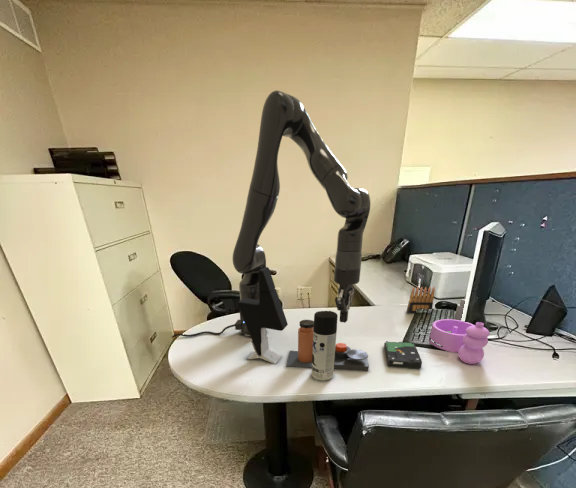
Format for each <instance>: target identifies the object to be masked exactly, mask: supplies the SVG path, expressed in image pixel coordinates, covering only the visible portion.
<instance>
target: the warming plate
mask: <svg viewBox="0 0 576 488" xmlns="http://www.w3.org/2000/svg"><path fill="white" fill-rule="evenodd" d="M346 355H347V357H348V358H350V359H353V360H364V359H366V358H367V359H368V357H369V354H368V352H367V351H365V350H361V349H351V350H349V351H348V352H347V353H346Z"/></svg>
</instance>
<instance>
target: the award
mask: <svg viewBox="0 0 576 488" xmlns="http://www.w3.org/2000/svg"><path fill="white" fill-rule="evenodd" d="M259 291H260V292H259V300H256V299H248V298H243V299H242V300H240V299H239V301H238V302H237V303H236V304H237V307H238V310H239V313H240V312H241V315H242V317H243V319H244V322H245V324H246V327H247V329H248V332H249V334H250V336H251V337H250V339H251V341H250V343H251V345H252V349H253V350H254V351H253V352H252V353H251V354H250V355H249V356H248V357H247V358H246V360H255V359H262V360H264V361H266V362H268V363H271V364H274V365H276V364H277V363H278V362H279V360H280V359H281V358H282V356H281V355H279V354H277V353H276V352H274V351H273V350H272V349H270V347H269V337H268V336H267V329H268V330H273V331H274V330H275V331H280V332H282V331H284V330H285V328H286V327H287V326H288V321H287V317H286V314H285V312H284V308H283V305H282V303H281V299H280V297H279V294H278V291H277V288H276V285H275V283H274V279H273V276H272V273H271V270H270V267H268V266H266V267H265V268H263V269H261V270H259Z"/></svg>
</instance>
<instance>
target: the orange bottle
mask: <svg viewBox="0 0 576 488" xmlns="http://www.w3.org/2000/svg"><path fill="white" fill-rule="evenodd" d="M313 328H314V320H312V319H302V320H300V321H299V328H298V329H297V351H298V360H299V361H301V362H304V363H309V362H312V352H313Z"/></svg>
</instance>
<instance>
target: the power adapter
mask: <svg viewBox="0 0 576 488" xmlns="http://www.w3.org/2000/svg"><path fill="white" fill-rule="evenodd" d="M466 297H467V293H465V294H464V298H461V299H460V302H459V303H457V305H456V310H455V312H454V317H453V319H454V320H460V321H461V318H462V314H463V308H464V304H465V299H466Z"/></svg>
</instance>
